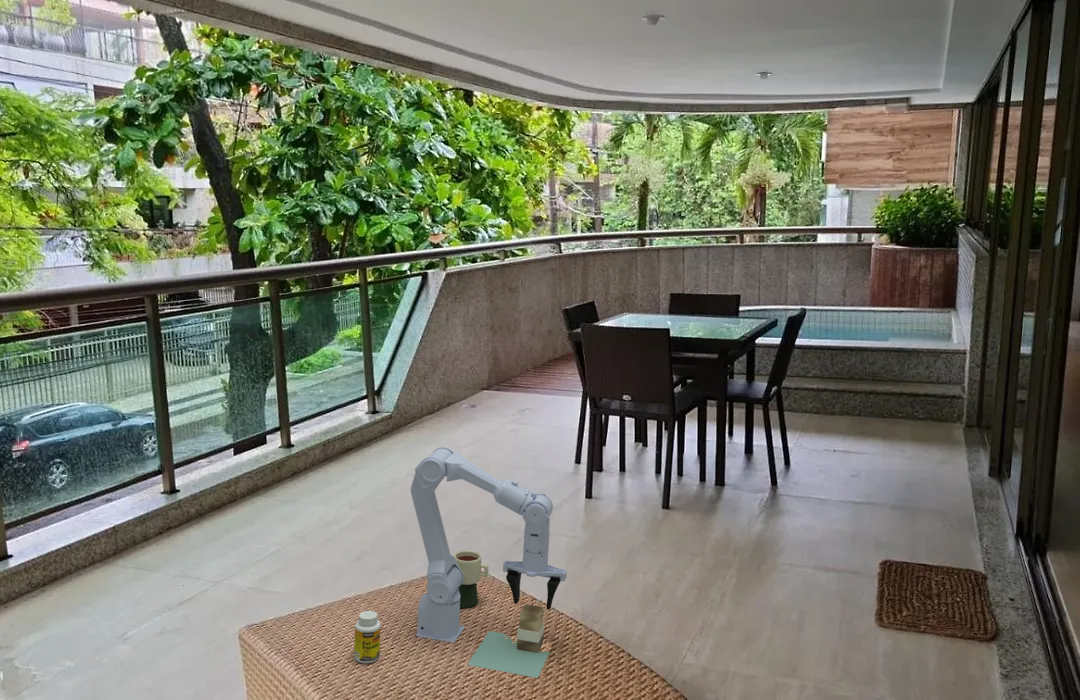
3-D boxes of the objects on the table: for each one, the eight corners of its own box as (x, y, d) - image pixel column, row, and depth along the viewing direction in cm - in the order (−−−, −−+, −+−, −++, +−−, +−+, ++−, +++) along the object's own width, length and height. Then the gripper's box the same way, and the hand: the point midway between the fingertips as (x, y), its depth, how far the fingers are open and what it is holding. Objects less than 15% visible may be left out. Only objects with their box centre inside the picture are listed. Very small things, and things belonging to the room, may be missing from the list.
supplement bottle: (359, 667, 183) (360, 622, 181) (350, 655, 187) (351, 612, 186) (383, 660, 186) (385, 617, 184) (374, 649, 190) (375, 606, 189)
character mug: (489, 600, 217) (491, 552, 215) (483, 613, 210) (486, 563, 208) (448, 595, 219) (449, 548, 217) (441, 608, 212) (443, 559, 210)
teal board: (467, 666, 185) (467, 664, 185) (489, 632, 201) (489, 631, 201) (537, 679, 182) (537, 677, 182) (554, 644, 197) (554, 642, 197)
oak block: (519, 628, 192) (519, 612, 192) (524, 620, 197) (524, 603, 196) (538, 632, 191) (539, 615, 191) (542, 623, 196) (543, 607, 195)
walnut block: (516, 649, 193) (517, 639, 193) (522, 639, 198) (522, 629, 197) (537, 653, 192) (538, 642, 191) (543, 642, 197) (543, 632, 196)
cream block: (517, 639, 193) (517, 629, 192) (522, 629, 197) (523, 619, 197) (538, 642, 191) (539, 632, 191) (543, 632, 196) (544, 622, 196)
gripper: (500, 550, 189) (497, 607, 191) (563, 560, 186) (559, 617, 188) (509, 539, 196) (506, 594, 198) (570, 548, 193) (566, 604, 195)
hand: (532, 604), depth 194 cm, fingers open, 7 cm apart
